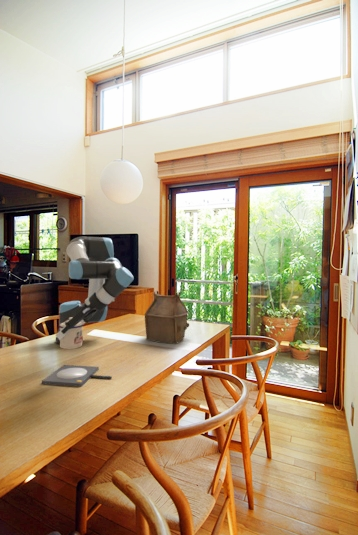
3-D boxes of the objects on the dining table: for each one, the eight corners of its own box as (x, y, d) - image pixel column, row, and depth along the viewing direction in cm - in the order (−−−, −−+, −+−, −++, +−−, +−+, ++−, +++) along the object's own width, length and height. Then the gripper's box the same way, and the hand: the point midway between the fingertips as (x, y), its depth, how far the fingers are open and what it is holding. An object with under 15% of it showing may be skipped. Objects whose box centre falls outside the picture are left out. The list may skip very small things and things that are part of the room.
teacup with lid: (78, 349, 117) (78, 319, 117) (55, 349, 118) (55, 319, 117) (88, 341, 129) (88, 314, 129) (67, 340, 130) (67, 314, 129)
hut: (179, 346, 170) (180, 294, 169) (137, 340, 180) (138, 291, 179) (192, 337, 191) (193, 290, 190) (154, 332, 201) (155, 288, 200)
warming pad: (41, 383, 116) (41, 380, 116) (64, 367, 134) (64, 364, 133) (104, 388, 113) (104, 384, 113) (118, 370, 131) (118, 367, 131)
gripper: (96, 309, 109) (56, 348, 111) (117, 301, 133) (84, 333, 135) (83, 294, 110) (43, 334, 112) (106, 288, 134) (73, 321, 136)
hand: (65, 333), depth 124 cm, fingers closed on teacup with lid, 12 cm apart
